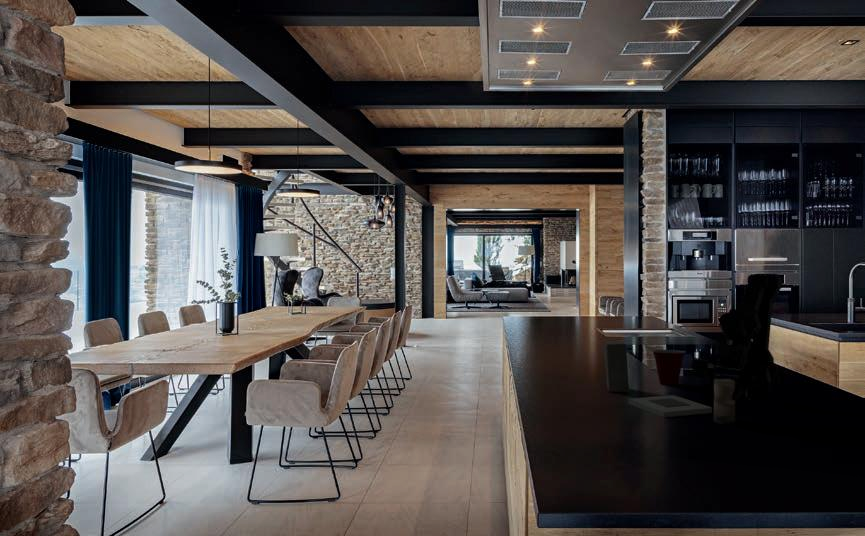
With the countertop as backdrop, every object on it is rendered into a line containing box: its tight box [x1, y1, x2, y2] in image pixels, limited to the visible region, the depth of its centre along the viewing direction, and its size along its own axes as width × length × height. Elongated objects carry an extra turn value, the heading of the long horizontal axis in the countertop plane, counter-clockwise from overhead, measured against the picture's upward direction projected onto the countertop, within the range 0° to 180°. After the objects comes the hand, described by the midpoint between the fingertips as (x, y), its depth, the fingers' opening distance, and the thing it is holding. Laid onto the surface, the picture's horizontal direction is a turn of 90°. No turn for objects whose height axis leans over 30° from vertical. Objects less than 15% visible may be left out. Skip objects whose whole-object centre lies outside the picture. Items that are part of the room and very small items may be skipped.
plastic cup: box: [651, 349, 686, 387], centre depth 203 cm, size 11×11×12 cm
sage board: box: [627, 394, 713, 418], centre depth 170 cm, size 16×16×2 cm
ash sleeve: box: [713, 378, 736, 426], centre depth 155 cm, size 5×5×11 cm
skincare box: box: [604, 341, 630, 393], centre depth 194 cm, size 8×7×16 cm
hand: (722, 397), depth 154 cm, fingers closed on ash sleeve, 5 cm apart
